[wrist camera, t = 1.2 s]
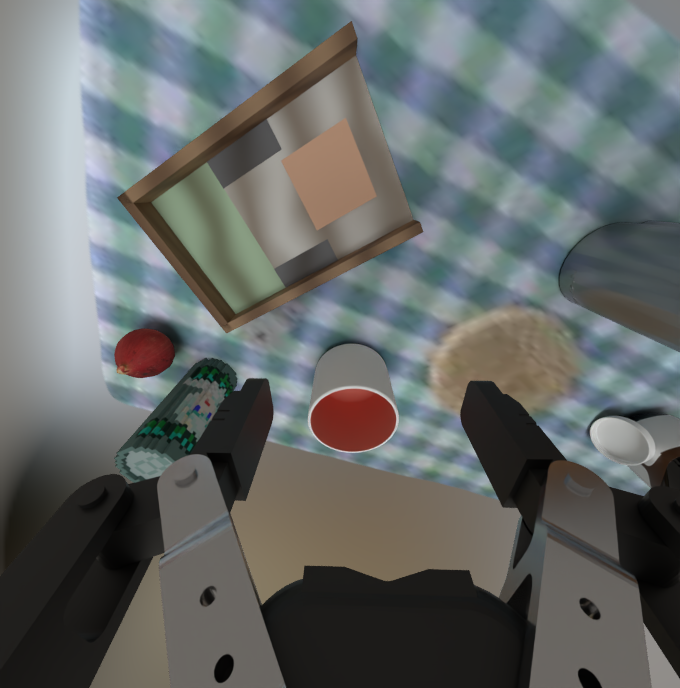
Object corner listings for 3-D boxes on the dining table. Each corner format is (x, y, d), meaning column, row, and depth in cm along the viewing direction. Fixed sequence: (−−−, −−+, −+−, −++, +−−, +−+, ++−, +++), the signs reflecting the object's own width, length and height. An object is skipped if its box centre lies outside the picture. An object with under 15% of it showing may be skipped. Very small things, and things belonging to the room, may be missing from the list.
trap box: (350, 41, 22) (351, 20, 19) (416, 228, 29) (423, 231, 26) (138, 197, 28) (117, 197, 25) (235, 322, 34) (226, 333, 32)
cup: (305, 350, 36) (293, 399, 28) (376, 330, 35) (387, 375, 26) (329, 404, 41) (325, 460, 32) (393, 388, 40) (407, 443, 31)
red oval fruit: (195, 344, 36) (160, 379, 29) (168, 363, 38) (128, 402, 31) (159, 310, 34) (112, 340, 27) (132, 333, 35) (80, 367, 28)
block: (345, 130, 25) (345, 117, 21) (371, 196, 27) (376, 196, 23) (290, 166, 26) (280, 160, 22) (320, 225, 29) (317, 230, 25)
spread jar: (656, 443, 45) (749, 517, 34) (582, 459, 47) (649, 533, 37) (670, 391, 39) (785, 459, 29) (585, 411, 41) (665, 482, 31)
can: (244, 383, 39) (195, 477, 26) (212, 398, 41) (151, 494, 28) (217, 352, 37) (147, 439, 24) (184, 369, 38) (101, 459, 25)
